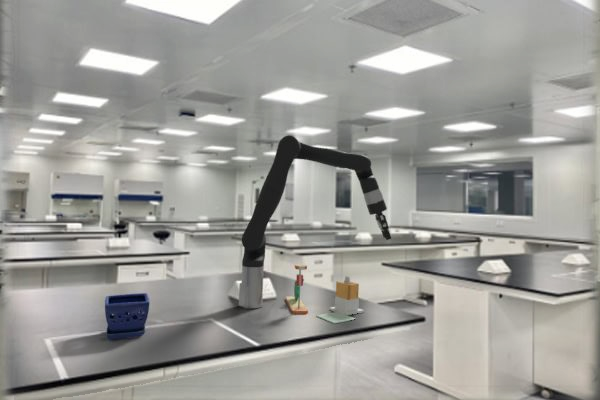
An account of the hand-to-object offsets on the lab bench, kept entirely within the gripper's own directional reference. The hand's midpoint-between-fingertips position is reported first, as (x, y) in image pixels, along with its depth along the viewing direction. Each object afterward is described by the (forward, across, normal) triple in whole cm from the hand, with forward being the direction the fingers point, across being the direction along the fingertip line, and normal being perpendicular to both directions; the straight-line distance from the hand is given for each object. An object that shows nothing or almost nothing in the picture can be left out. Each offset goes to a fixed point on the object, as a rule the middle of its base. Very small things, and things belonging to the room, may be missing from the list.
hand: (387, 238), depth 167 cm
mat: (+22, +11, -30) cm, 39 cm away
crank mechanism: (+16, -3, -46) cm, 49 cm away
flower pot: (-2, +45, -94) cm, 104 cm away
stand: (+24, 0, -26) cm, 35 cm away
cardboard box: (+18, 0, -24) cm, 30 cm away
